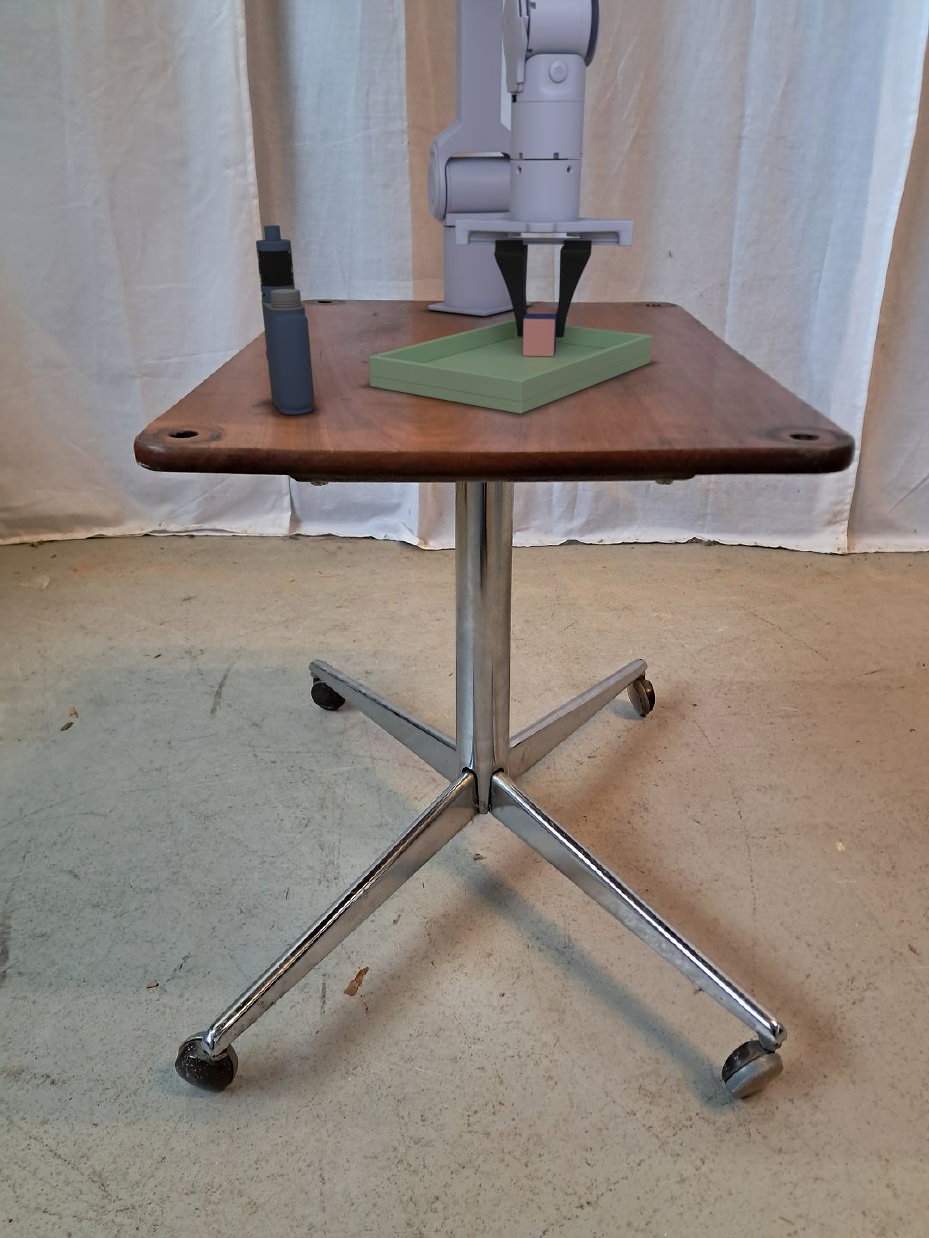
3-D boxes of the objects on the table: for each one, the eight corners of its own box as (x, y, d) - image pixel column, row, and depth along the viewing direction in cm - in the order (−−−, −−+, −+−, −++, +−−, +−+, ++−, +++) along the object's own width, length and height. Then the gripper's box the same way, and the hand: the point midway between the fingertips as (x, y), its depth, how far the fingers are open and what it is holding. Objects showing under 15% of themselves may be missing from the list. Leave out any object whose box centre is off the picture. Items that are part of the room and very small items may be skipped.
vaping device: (302, 396, 69) (287, 224, 63) (318, 413, 65) (303, 230, 59) (268, 400, 68) (249, 225, 63) (282, 417, 64) (263, 231, 58)
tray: (513, 344, 86) (513, 318, 85) (650, 362, 78) (652, 335, 77) (369, 386, 72) (368, 356, 71) (520, 414, 64) (521, 381, 63)
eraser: (527, 342, 83) (528, 307, 81) (557, 343, 82) (558, 307, 81) (522, 356, 77) (523, 318, 76) (554, 357, 77) (555, 319, 76)
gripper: (448, 161, 70) (451, 342, 77) (639, 160, 68) (626, 345, 75) (461, 159, 76) (462, 327, 83) (636, 158, 75) (624, 330, 81)
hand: (540, 335), depth 79 cm, fingers closed on eraser, 3 cm apart
